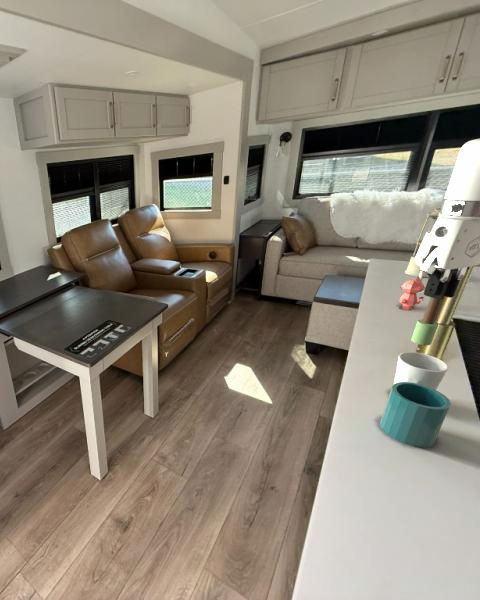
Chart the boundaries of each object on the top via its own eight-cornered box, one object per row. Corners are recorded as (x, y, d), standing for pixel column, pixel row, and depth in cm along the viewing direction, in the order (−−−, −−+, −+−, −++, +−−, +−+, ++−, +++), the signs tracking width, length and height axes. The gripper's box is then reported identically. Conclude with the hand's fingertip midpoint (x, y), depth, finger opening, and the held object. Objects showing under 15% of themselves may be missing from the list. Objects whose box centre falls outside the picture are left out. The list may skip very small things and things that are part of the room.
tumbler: (418, 424, 71) (434, 384, 67) (442, 454, 64) (462, 412, 60) (372, 417, 74) (384, 379, 70) (390, 445, 67) (404, 405, 63)
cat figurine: (397, 302, 123) (406, 273, 118) (422, 307, 118) (432, 277, 113) (392, 308, 119) (401, 278, 115) (417, 313, 114) (428, 282, 109)
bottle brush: (426, 338, 73) (452, 269, 66) (434, 346, 70) (462, 274, 64) (408, 337, 74) (431, 268, 68) (415, 344, 71) (440, 273, 65)
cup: (379, 399, 79) (392, 359, 75) (394, 387, 82) (408, 348, 78) (422, 418, 73) (439, 376, 68) (437, 405, 76) (455, 363, 71)
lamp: (437, 272, 144) (460, 205, 133) (435, 280, 137) (460, 210, 125) (405, 269, 152) (425, 205, 140) (402, 276, 144) (422, 209, 133)
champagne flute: (413, 293, 128) (432, 235, 119) (400, 287, 134) (417, 231, 125) (433, 292, 127) (453, 233, 118) (419, 286, 133) (437, 230, 124)
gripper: (458, 216, 56) (425, 308, 63) (532, 205, 58) (492, 296, 65) (411, 211, 63) (387, 295, 70) (479, 201, 65) (448, 285, 72)
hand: (438, 295), depth 68 cm, fingers closed on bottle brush
